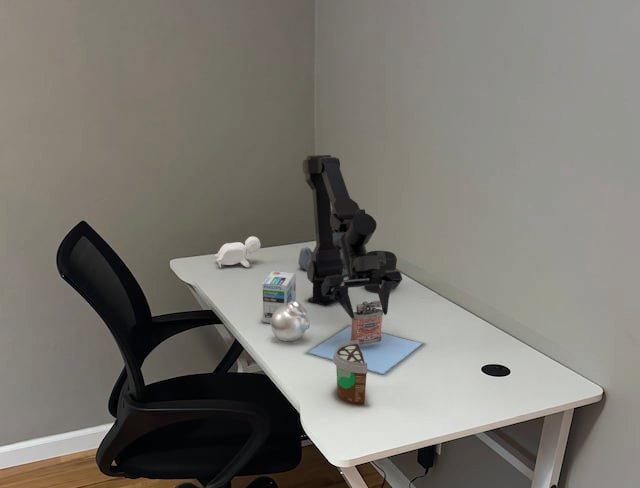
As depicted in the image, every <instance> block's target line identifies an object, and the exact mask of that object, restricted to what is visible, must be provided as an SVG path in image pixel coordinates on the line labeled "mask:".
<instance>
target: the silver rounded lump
mask: <svg viewBox="0 0 640 488" xmlns="http://www.w3.org/2000/svg"><path fill="white" fill-rule="evenodd" d="M307 315H308V311H307V309H306V308H305V307H304V306H303V305H302V304H301V303H300V302H299V301H297V300H296V301H291V302H289V303H288V305H285V306H282V307H280V308H278V309H277V310H276V311H275V312H274V313H273V315H272V318H271V323H270V329H271V331H272V333H273V335H274V336H275V337H276V338H277V339H279V340H281V341H284V342H294V341H297V340H299V339H300V338H301V337H302V336H303V335H304V334H305V332H306V331H307V330H309V328H310V326H311V323H310V320H309V318H307Z"/></svg>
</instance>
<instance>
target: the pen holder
mask: <svg viewBox="0 0 640 488" xmlns="http://www.w3.org/2000/svg"><path fill="white" fill-rule="evenodd" d="M382 251H384V254H385V257H386V264H385V265H383V266H379V268H380V269H376V273H375V274H373V275H372V277H380V276H381V275H382V274H383V272H384V271H389V270H397V262H398V258H397V256H396V254H395V253H393V252H391V251H388V250H371V251H368V252H367V254H368V253H369V255H370V256H374V253H376V252H382ZM363 287H364V289H365V290H367V291H369V292H372V293H377V294H378V292H379V290H380V288H379V285H372V286H363Z"/></svg>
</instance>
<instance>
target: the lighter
mask: <svg viewBox="0 0 640 488" xmlns="http://www.w3.org/2000/svg"><path fill="white" fill-rule="evenodd" d="M355 308H356V311H353V313H354V317H353V318H351V326H352V330H351V339H350V341H354V340H359V345H367V344H372V343H376V342H380V341H381V339H382V336H381V333H382V328H383V326H382V325H383V315H384V313H383V310H382V307H381V302H380V300H373V301H370V302H368V301H366V300H365V301H363V302H362V303H357V304H356V307H355Z"/></svg>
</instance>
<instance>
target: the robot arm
mask: <svg viewBox="0 0 640 488" xmlns="http://www.w3.org/2000/svg"><path fill="white" fill-rule="evenodd" d="M302 172H303V174H304V178H305V179H304V180H305V182H306V183H307V185H308V186H309V187H310V190H311V191H312V203H313V204H312V205H313V216H314V217H313V218H314V230H315V243H316V244H315V247H314V249H313V251H312V252H313V253H312V255H311V262H310V264H309V267H308V269H307V270H306V276H307V280H308V281H309V282H310V283H311V284H312V296H311V297H309V298H308V299H307V301H308V302H311V303H315V304H319V305H324V306H329V305H331V304H332V303H334V302H337V303H338V304H339V305H340V306H341V307H342V309H343V310H344V312H346V314H347V315H348V316H349V317H350V319H352V318H353V317H354V313H353V312H354V309H353V305H352V302H351V299H350V295H349V288H350V289H351V288H360V287H364V286H372V285H379V288H380V290H379V292H378V293H377V296H378V299H379V301H380V302H381V307H380V308H381V310H383V315H384V316H386V315H387V314H388V311H389V303H390V302H389V300H390V294H391V291H393V290H395V289H397V287H398V286H399V285H400V284H401V282H402V281H403V275H402V272H401V271H399V269H396V270H389V271H384V272H383V274H382V275H381V276H380V277H372V275H373V274H375V273H376V269H380V268H379V266H383V265H385V264H386V257H385V254H384V251H385V250H381V251H382V252H376V253H374V256H370V255H369V253H368V252H367V248H366V245H367V244H368V243H369V242H370V241H371V239H372V236H373V235H374V233H375V232H376V230H377V221H376V220H375V218H374V217H373V216H372V215H370V214H368V213H366V209H365V208H362V209H361V208H360V206H359V204H358V203H357V202H356V201H355V200H353V199H352V198H351V197H350V194H349V191H348V188H347V186H346V182H345V178H344V176H343V173H342V170H341V161H340V159H339V158H338V157H336V156H332V155H331V154H314V155H313V154H312V155H310V154H309V155H307V156H306V158H305V159H303V161H302ZM331 211H332V212H331ZM332 229H333V230H334V232H335V233H345V234H344V235H343V236H342V237H341V239H340V245H339V247H340V248H341V249H342V254H343V258H344V262H345V265H343V263H342V260H341V254H340V251H339V249H337V248H336V247H335V245H334V244H333V232H332ZM367 253H368V254H367ZM343 266H344V270H346V271H347V275H346V276H347V279H344V276H342V271H343Z"/></svg>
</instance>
